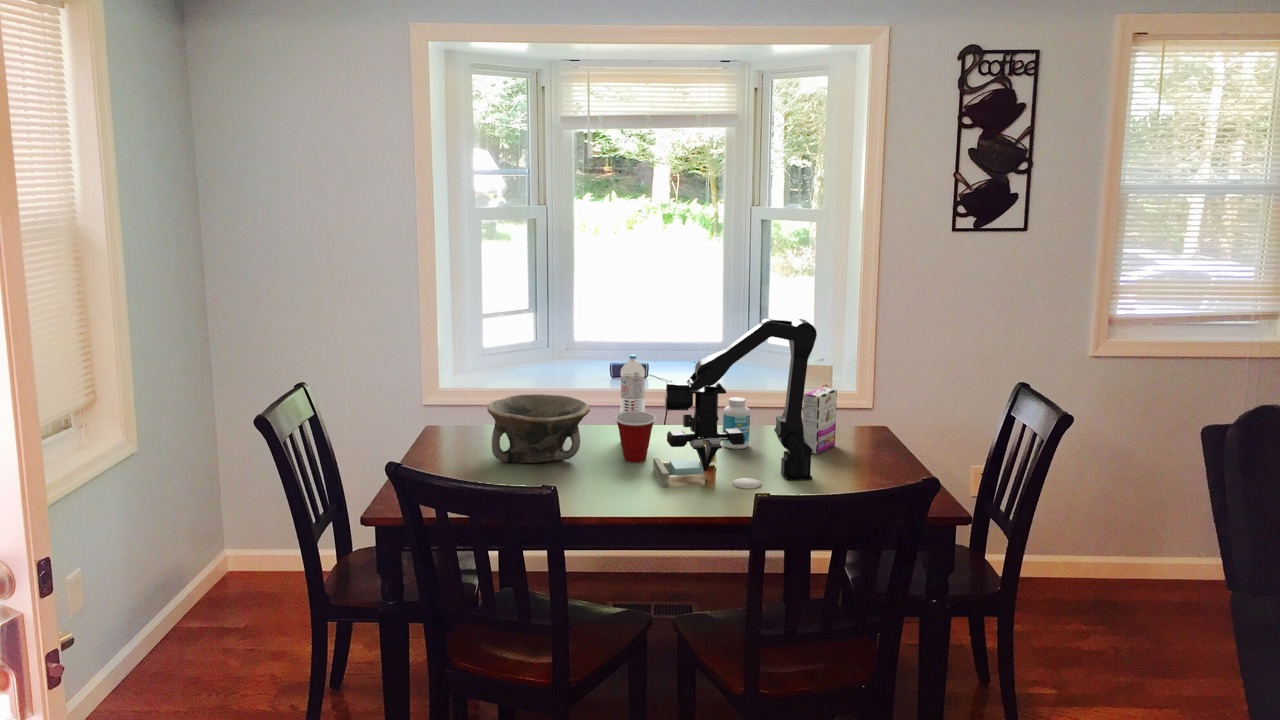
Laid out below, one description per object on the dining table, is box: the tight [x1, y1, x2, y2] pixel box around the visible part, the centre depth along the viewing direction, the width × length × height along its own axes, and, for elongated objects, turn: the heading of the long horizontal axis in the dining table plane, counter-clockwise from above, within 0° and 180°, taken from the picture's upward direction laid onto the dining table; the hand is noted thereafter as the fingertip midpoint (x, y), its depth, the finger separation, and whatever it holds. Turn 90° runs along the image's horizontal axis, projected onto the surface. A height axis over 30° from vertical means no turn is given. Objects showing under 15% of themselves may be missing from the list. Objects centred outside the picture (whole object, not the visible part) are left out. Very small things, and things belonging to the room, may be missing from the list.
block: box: [669, 458, 704, 475], centre depth 244 cm, size 7×7×4 cm
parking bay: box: [652, 457, 706, 488], centre depth 243 cm, size 10×13×4 cm
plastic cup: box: [614, 411, 657, 464], centre depth 258 cm, size 11×11×12 cm
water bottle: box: [619, 354, 646, 413], centre depth 273 cm, size 7×7×25 cm
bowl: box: [486, 393, 591, 464], centre depth 258 cm, size 27×26×15 cm
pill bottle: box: [721, 396, 751, 450], centre depth 271 cm, size 8×7×14 cm
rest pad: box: [732, 477, 762, 490], centre depth 240 cm, size 7×7×1 cm
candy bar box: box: [802, 387, 838, 455], centre depth 269 cm, size 11×5×16 cm, turn 143°
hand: (704, 470), depth 245 cm, fingers closed
